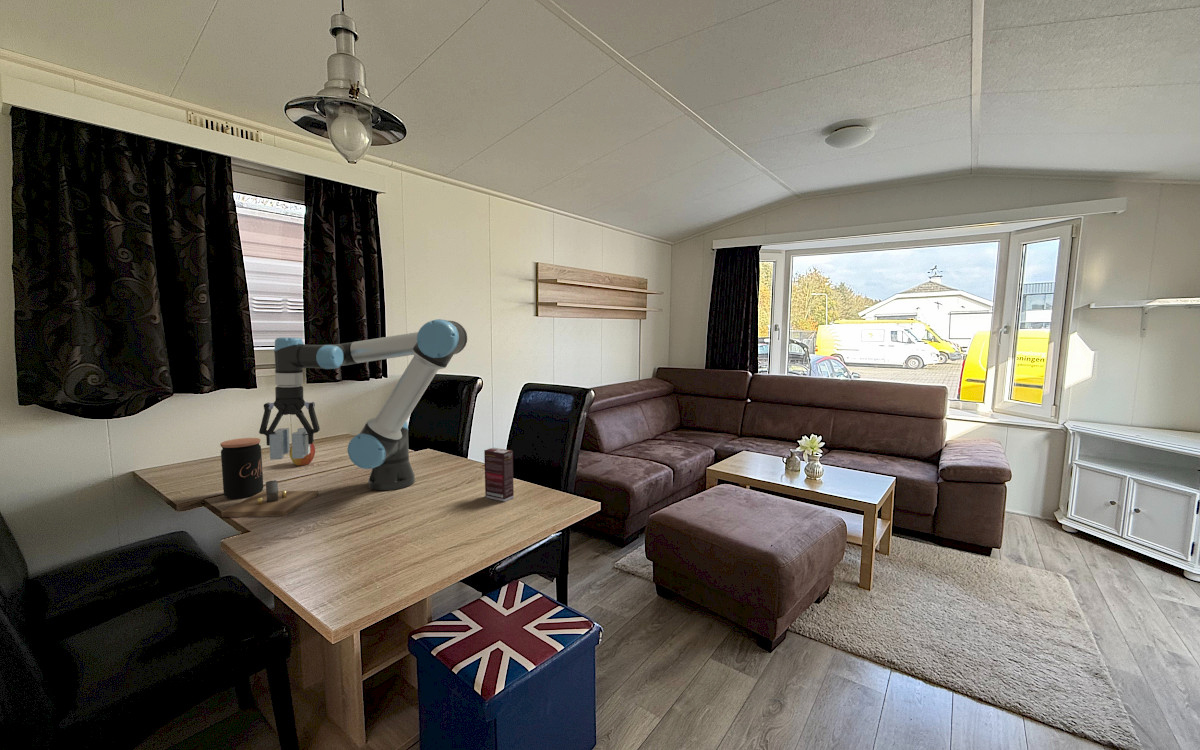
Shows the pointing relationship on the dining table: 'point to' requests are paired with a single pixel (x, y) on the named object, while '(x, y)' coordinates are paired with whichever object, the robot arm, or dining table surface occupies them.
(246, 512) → the post base
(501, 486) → the supplement box
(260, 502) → the dowel pins
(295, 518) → the dining table surface
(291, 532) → the dining table surface
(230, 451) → the coffee jar
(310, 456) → the apple
